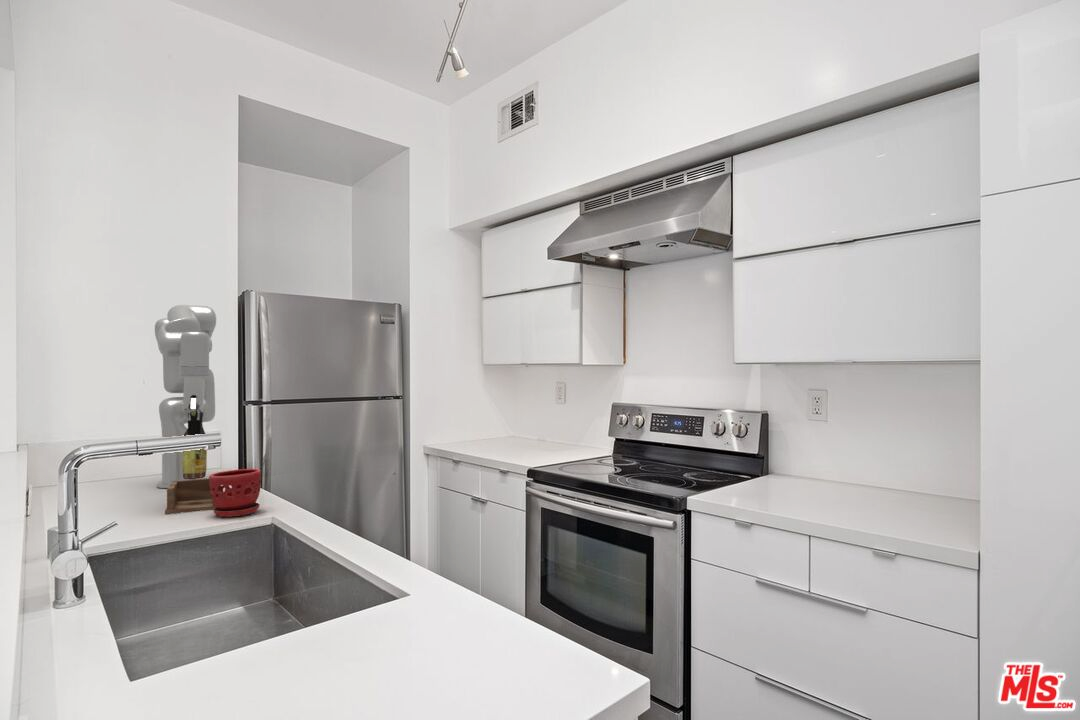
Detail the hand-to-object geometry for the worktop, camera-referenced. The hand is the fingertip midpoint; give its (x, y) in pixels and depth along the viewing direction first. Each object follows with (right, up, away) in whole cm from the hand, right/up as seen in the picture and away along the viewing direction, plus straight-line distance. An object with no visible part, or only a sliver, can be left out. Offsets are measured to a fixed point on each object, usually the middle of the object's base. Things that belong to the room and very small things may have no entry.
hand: (194, 432), depth 176 cm
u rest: (0, -22, 0) cm, 22 cm away
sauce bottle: (0, -14, 0) cm, 14 cm away
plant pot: (+17, -22, -9) cm, 29 cm away
